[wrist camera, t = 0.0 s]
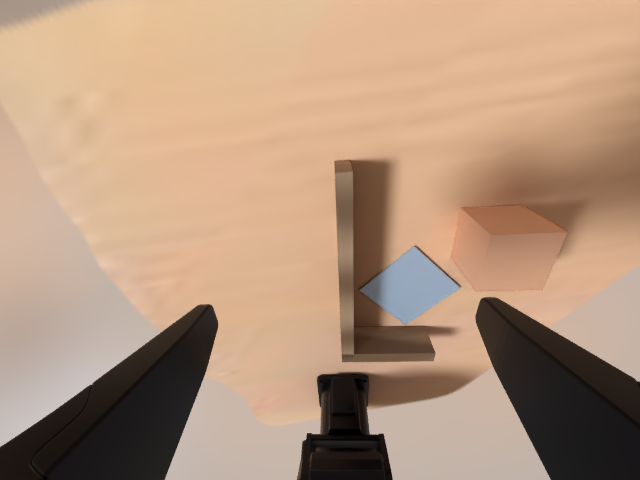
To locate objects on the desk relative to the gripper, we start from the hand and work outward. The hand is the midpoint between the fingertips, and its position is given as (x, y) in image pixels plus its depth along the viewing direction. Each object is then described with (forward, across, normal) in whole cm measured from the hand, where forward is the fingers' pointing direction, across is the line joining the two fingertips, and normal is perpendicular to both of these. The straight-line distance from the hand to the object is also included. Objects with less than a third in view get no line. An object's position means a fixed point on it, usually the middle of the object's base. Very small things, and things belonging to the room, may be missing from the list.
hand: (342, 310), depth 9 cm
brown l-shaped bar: (+15, -4, +8) cm, 17 cm away
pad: (+15, -7, +11) cm, 20 cm away
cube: (+15, -13, +5) cm, 20 cm away
